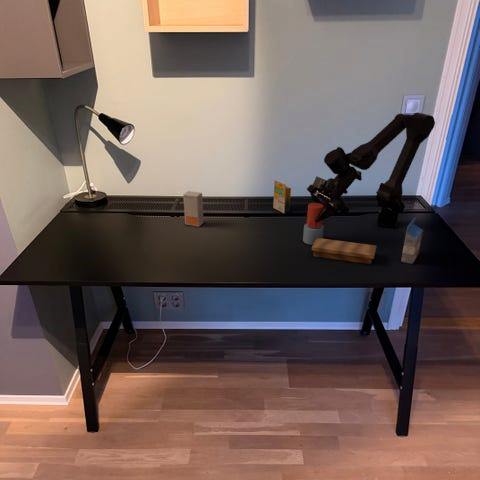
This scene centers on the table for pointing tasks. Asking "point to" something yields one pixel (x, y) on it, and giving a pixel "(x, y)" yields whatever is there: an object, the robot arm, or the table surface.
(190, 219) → the cosmetic box
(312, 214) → the red cylinder
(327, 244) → the brown long block
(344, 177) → the robot arm
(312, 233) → the light gray cylinder
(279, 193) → the crayon box
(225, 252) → the table surface
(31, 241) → the table surface
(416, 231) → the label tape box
